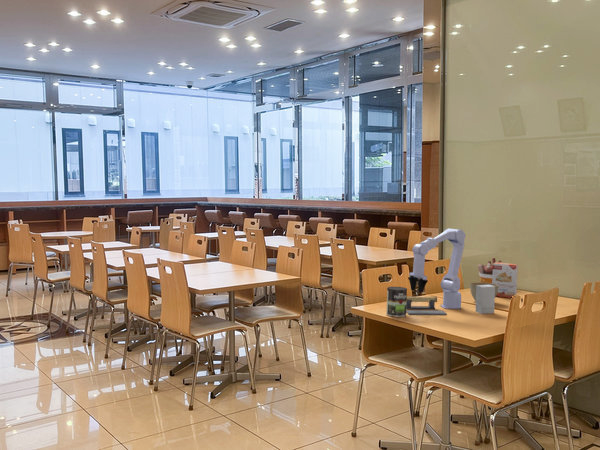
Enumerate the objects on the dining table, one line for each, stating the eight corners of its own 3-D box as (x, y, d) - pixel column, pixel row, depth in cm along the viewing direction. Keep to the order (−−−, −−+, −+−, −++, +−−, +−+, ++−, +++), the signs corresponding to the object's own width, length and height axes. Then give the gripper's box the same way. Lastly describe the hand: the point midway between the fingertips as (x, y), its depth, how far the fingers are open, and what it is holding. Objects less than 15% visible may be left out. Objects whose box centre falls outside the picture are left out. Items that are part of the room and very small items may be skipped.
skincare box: (488, 311, 310) (489, 284, 309) (494, 313, 304) (495, 286, 303) (474, 311, 307) (475, 284, 307) (480, 314, 302) (482, 286, 301)
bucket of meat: (500, 291, 372) (502, 261, 371) (475, 289, 380) (476, 259, 379) (506, 287, 389) (507, 258, 388) (481, 285, 397) (482, 256, 396)
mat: (442, 312, 305) (442, 310, 305) (446, 315, 298) (446, 313, 298) (405, 311, 303) (405, 310, 303) (409, 314, 296) (409, 313, 296)
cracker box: (491, 296, 355) (492, 262, 354) (493, 294, 361) (494, 262, 359) (514, 298, 348) (516, 264, 347) (516, 297, 353) (518, 263, 352)
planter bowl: (494, 300, 340) (494, 282, 340) (500, 306, 324) (501, 287, 324) (466, 299, 342) (467, 281, 341) (472, 305, 326) (472, 286, 325)
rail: (435, 301, 314) (435, 296, 314) (437, 302, 311) (437, 297, 311) (403, 301, 313) (403, 296, 313) (404, 302, 310) (404, 297, 310)
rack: (432, 307, 315) (433, 298, 315) (435, 309, 311) (435, 300, 311) (404, 307, 314) (404, 298, 314) (406, 309, 310) (406, 300, 310)
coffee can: (409, 316, 292) (410, 289, 291) (391, 317, 289) (392, 290, 288) (400, 312, 302) (401, 286, 301) (383, 313, 299) (383, 286, 298)
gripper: (405, 264, 311) (403, 288, 311) (419, 267, 297) (417, 293, 298) (416, 264, 313) (414, 289, 314) (431, 268, 300) (429, 293, 300)
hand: (416, 291), depth 306 cm, fingers open, 7 cm apart
